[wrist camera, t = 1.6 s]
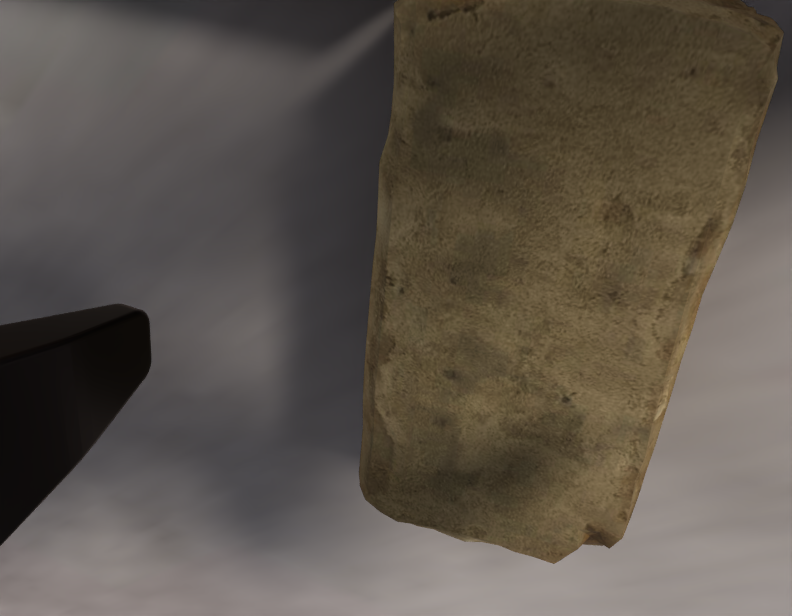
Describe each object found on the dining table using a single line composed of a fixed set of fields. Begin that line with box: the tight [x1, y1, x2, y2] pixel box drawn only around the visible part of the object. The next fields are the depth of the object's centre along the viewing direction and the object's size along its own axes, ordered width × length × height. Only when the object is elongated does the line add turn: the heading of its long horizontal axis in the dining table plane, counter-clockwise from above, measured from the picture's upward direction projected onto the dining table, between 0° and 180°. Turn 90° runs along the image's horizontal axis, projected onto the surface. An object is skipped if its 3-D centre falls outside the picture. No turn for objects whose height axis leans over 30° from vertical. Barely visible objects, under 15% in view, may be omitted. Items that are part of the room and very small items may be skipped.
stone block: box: [359, 0, 784, 564], centre depth 14 cm, size 6×12×5 cm, turn 176°
